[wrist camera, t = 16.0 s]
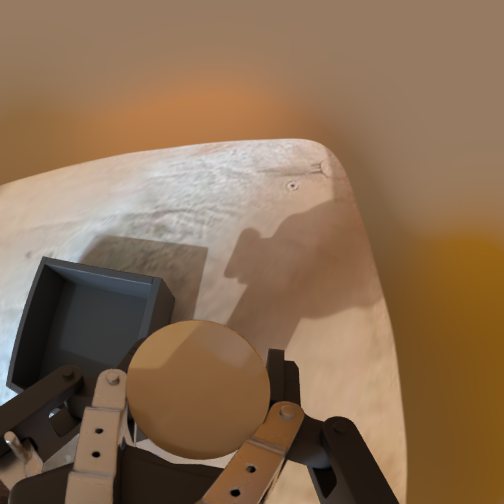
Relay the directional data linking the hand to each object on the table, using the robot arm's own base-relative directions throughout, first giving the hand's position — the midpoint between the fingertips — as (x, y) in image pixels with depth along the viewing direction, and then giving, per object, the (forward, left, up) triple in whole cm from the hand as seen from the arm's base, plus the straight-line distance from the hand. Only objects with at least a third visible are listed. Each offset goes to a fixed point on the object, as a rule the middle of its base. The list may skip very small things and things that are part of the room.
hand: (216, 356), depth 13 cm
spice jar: (+1, -2, -4) cm, 4 cm away
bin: (-9, -5, -7) cm, 13 cm away
